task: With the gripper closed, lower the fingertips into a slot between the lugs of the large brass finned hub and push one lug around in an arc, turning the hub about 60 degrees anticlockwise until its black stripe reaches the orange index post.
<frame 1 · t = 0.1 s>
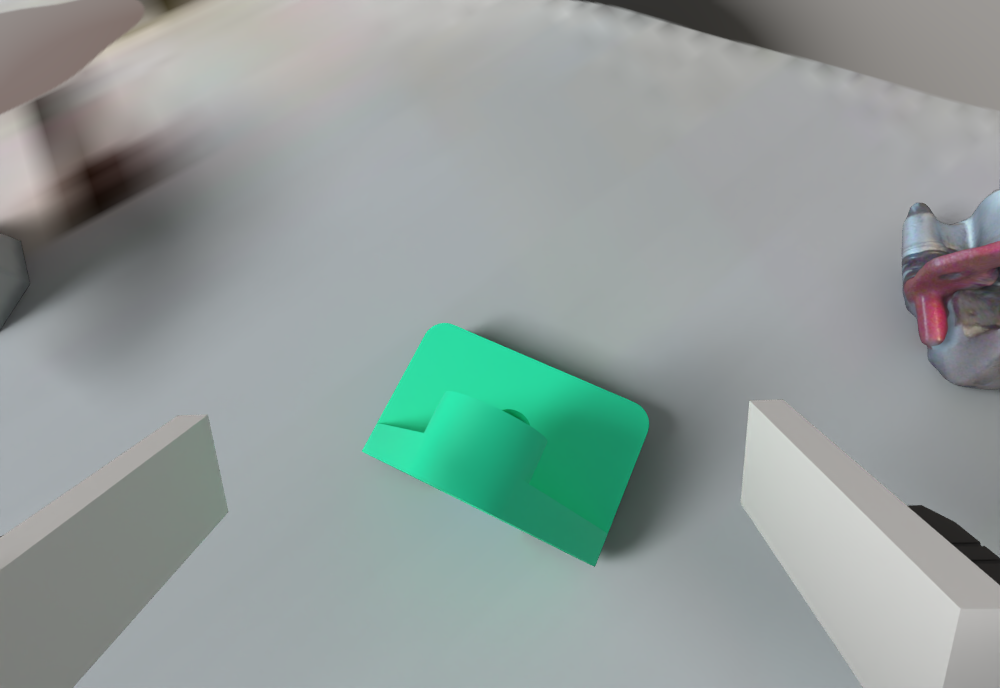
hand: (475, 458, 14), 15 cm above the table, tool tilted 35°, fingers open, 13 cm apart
camera mount: (510, 441, 29), on the table
brake caliper: (974, 313, 30), on the table
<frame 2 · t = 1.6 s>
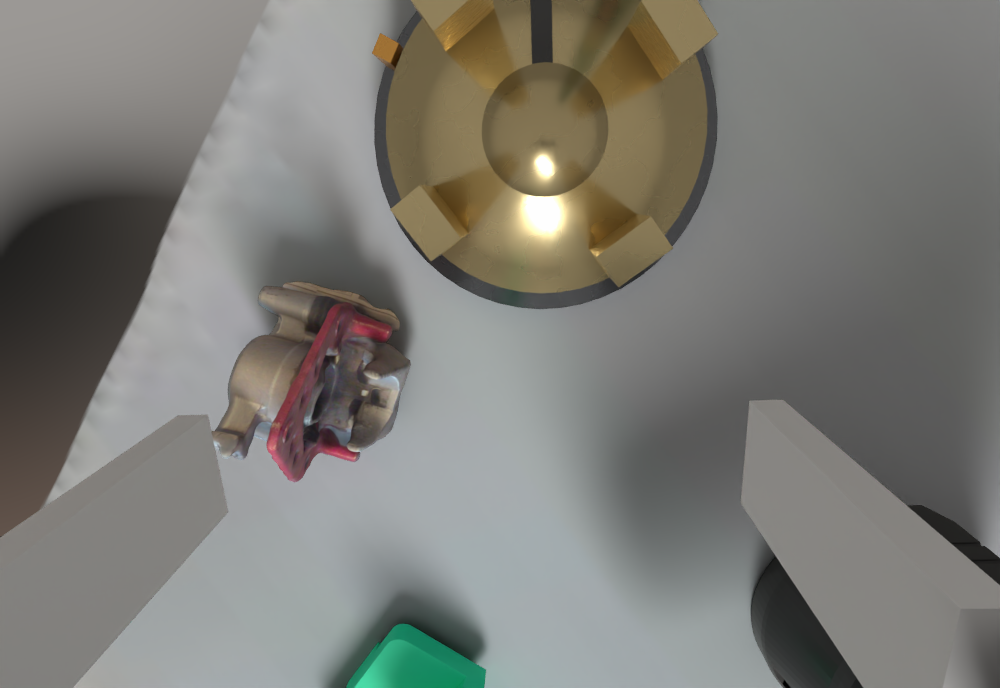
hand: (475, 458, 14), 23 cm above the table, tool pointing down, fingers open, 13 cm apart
camera mount: (405, 682, 44), on the table
brake caliper: (339, 367, 38), on the table
index base: (542, 144, 33), on the table
brass finned hub: (544, 134, 28), point 6 cm above the table, hinge at 0.0°
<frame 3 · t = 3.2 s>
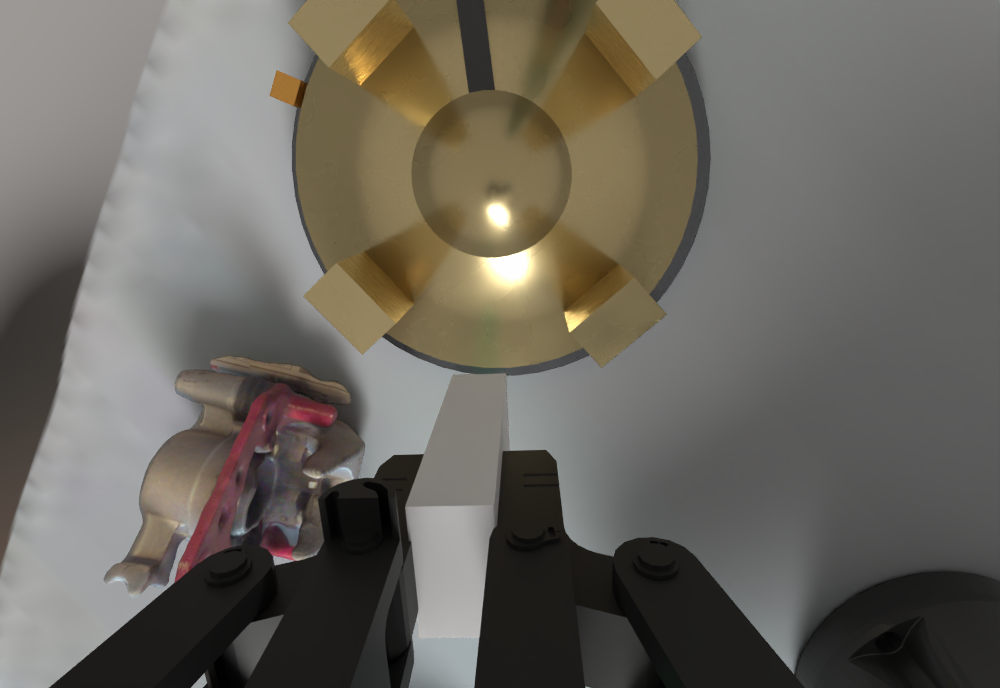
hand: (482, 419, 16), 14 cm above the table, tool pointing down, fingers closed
brake caliper: (286, 449, 32), on the table
index base: (499, 179, 27), on the table
brass finned hub: (493, 177, 22), point 6 cm above the table, hinge at 0.0°
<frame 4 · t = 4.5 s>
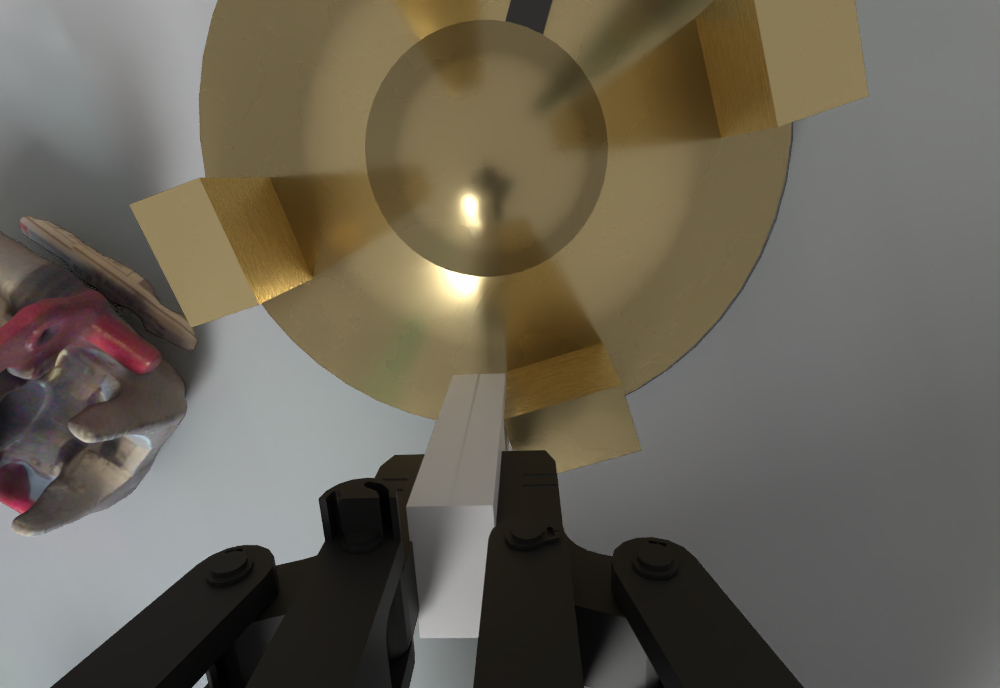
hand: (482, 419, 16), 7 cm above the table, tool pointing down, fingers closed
brake caliper: (86, 370, 24), on the table
index base: (498, 162, 20), on the table
brass finned hub: (488, 157, 15), point 6 cm above the table, hinge at 0.0°, touching gripper
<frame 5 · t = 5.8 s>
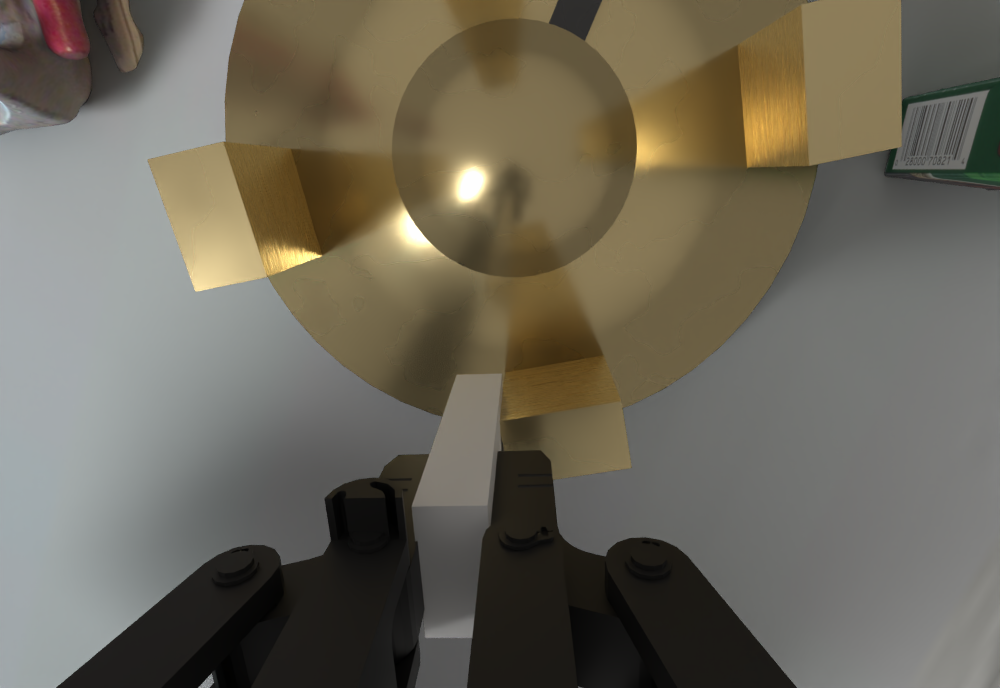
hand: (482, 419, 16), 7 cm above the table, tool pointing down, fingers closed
coffee box: (994, 149, 19), on the table
brass finned hub: (514, 157, 15), point 6 cm above the table, hinge at 34.4°, touching gripper
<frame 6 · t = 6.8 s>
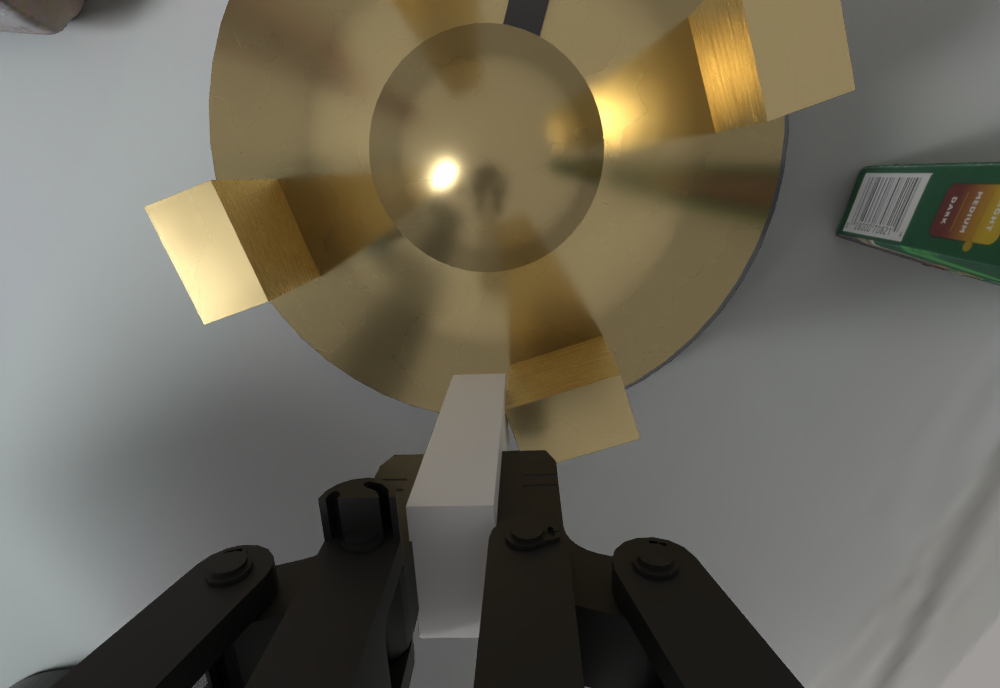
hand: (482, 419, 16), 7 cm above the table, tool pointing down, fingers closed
coffee box: (936, 229, 21), on the table
index base: (499, 161, 21), on the table
brass finned hub: (488, 156, 15), point 6 cm above the table, hinge at 52.0°
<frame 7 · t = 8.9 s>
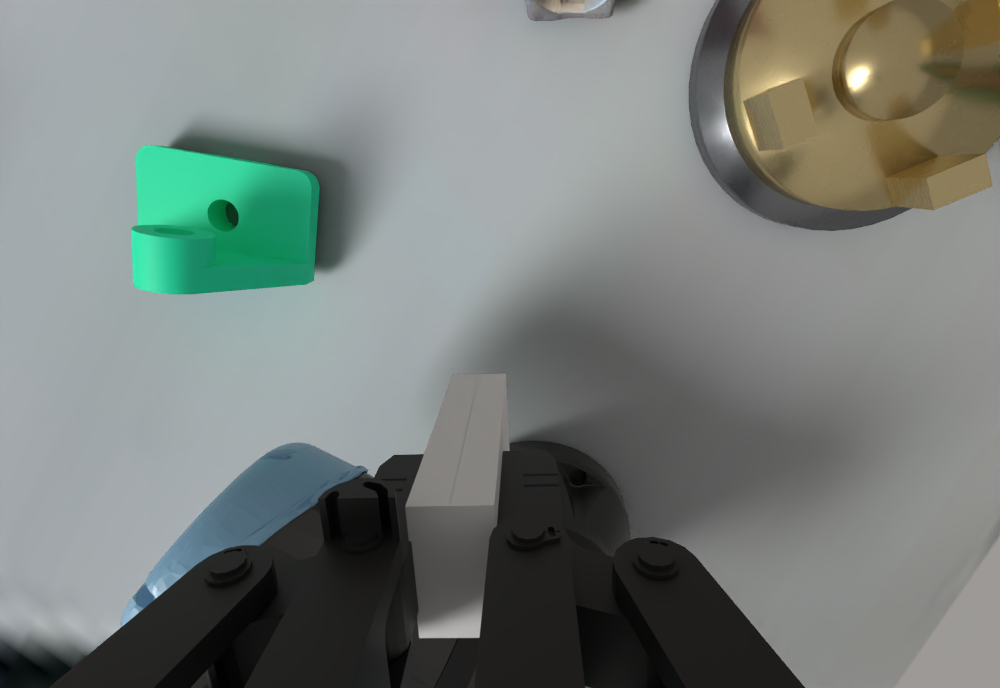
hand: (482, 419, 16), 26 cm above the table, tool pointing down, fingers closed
camera mount: (243, 212, 41), on the table
index base: (837, 79, 36), on the table
brass finned hub: (890, 63, 31), point 6 cm above the table, hinge at 52.7°
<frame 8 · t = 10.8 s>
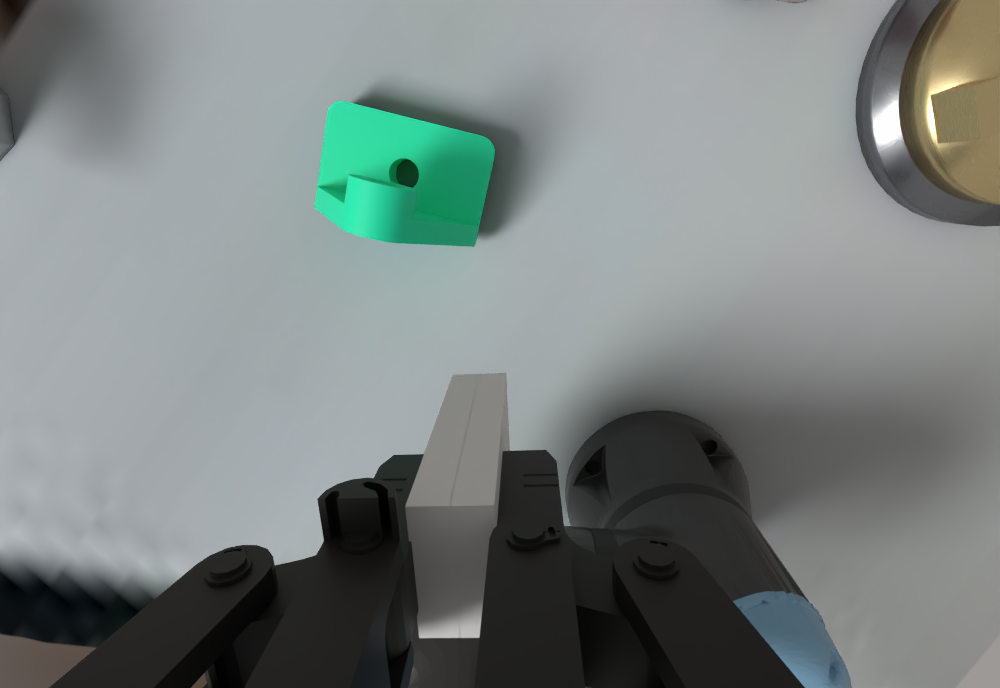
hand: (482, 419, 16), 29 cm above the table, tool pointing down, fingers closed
camera mount: (411, 174, 43), on the table
index base: (997, 85, 39), on the table
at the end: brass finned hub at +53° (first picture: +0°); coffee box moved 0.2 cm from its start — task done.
